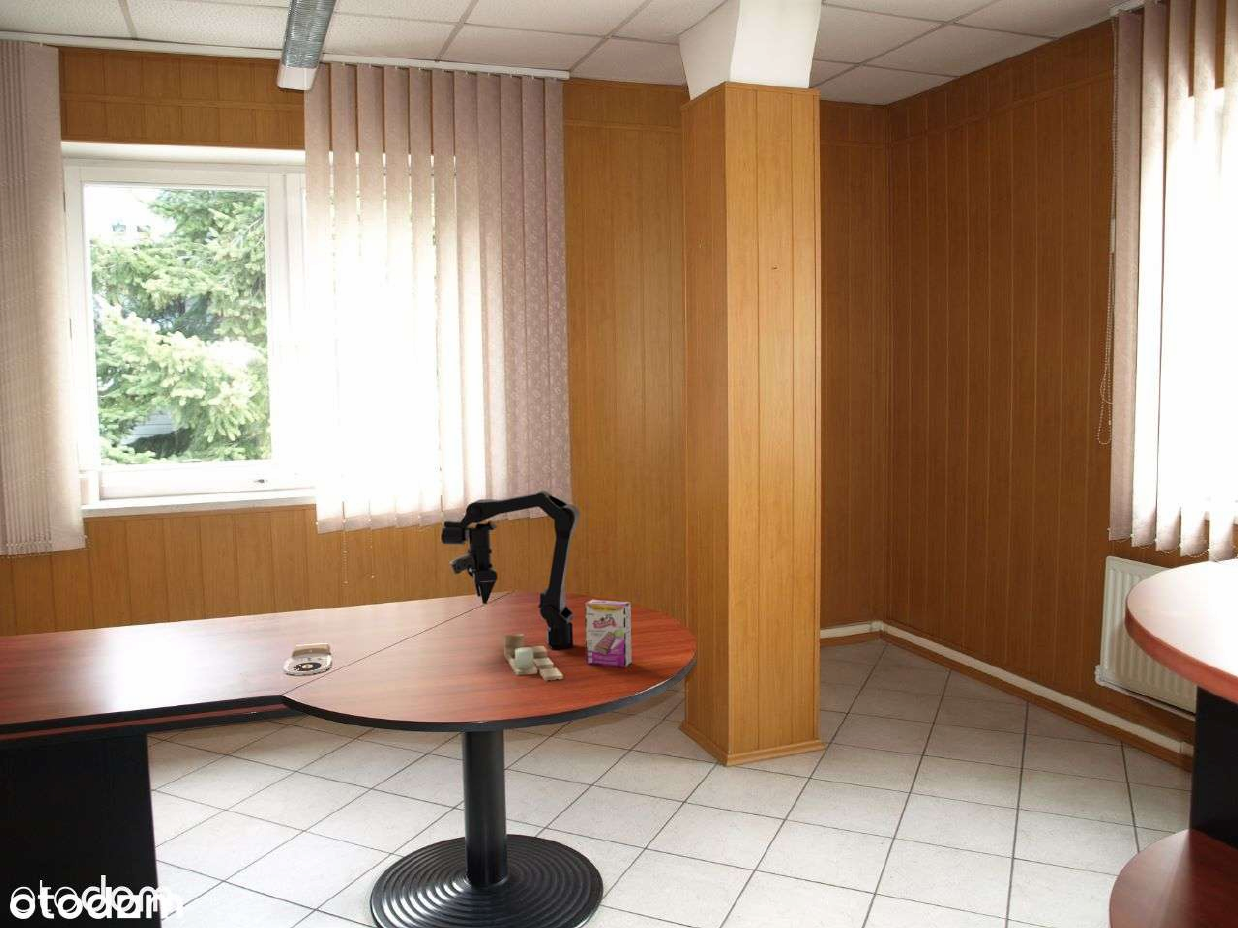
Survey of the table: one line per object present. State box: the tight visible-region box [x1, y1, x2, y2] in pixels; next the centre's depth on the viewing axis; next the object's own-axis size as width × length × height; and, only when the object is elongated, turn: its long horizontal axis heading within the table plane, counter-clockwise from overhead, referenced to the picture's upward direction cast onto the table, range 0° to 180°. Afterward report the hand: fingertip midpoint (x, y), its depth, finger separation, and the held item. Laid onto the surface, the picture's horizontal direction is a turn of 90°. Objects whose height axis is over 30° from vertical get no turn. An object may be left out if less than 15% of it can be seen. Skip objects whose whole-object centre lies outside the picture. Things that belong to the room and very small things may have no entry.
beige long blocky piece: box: [503, 633, 538, 676], centre depth 275 cm, size 5×19×6 cm, turn 16°
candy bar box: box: [584, 599, 632, 668], centre depth 273 cm, size 11×5×16 cm, turn 71°
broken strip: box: [528, 645, 564, 682], centre depth 272 cm, size 4×23×2 cm, turn 16°
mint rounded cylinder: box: [514, 646, 534, 670], centre depth 270 cm, size 5×5×4 cm
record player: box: [283, 642, 332, 675], centre depth 280 cm, size 12×3×20 cm
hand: (482, 600), depth 295 cm, fingers open, 9 cm apart
